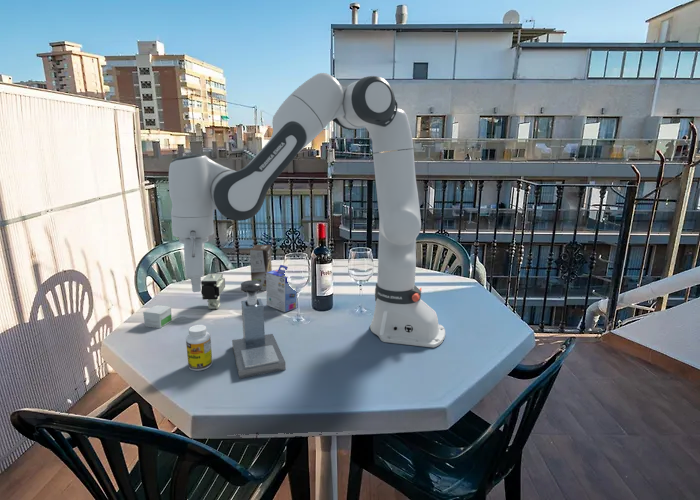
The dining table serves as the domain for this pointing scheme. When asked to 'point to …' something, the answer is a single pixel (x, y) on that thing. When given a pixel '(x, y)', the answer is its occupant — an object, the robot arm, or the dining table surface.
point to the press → (256, 345)
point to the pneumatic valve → (213, 289)
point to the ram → (251, 290)
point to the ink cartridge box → (279, 291)
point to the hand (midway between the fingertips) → (197, 284)
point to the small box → (157, 316)
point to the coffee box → (260, 263)
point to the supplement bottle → (199, 348)
